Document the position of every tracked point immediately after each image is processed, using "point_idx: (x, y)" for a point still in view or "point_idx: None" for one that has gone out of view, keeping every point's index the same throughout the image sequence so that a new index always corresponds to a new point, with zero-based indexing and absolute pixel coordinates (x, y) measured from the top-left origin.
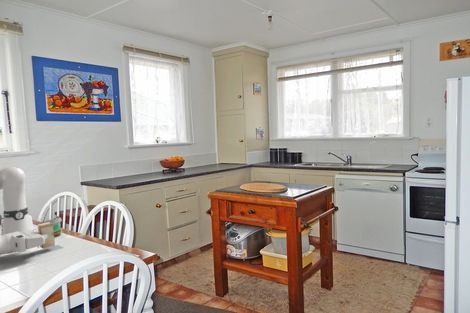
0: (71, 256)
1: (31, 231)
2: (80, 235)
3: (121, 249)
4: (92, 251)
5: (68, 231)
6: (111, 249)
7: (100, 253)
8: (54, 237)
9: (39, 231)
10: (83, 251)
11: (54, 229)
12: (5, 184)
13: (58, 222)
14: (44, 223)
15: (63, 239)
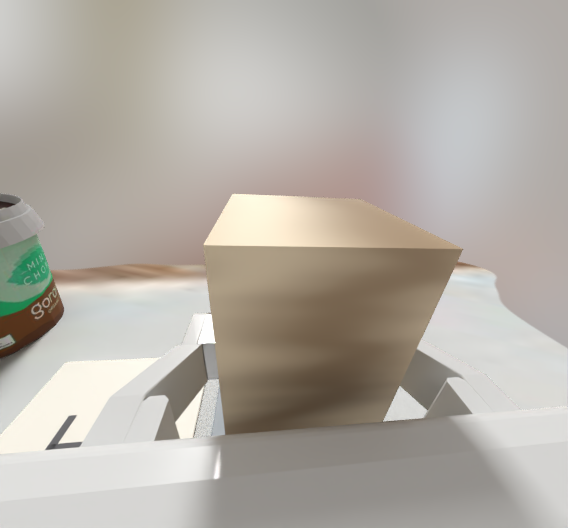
0: (519, 372)
1: (17, 526)
2: (189, 269)
3: (464, 266)
4: (456, 303)
5: (60, 271)
6: (454, 275)
7: (494, 298)
8: (49, 326)
9: (285, 363)
10: (441, 319)
11: (33, 278)
12: None
13: (41, 227)
14: (251, 208)
15: (152, 312)
